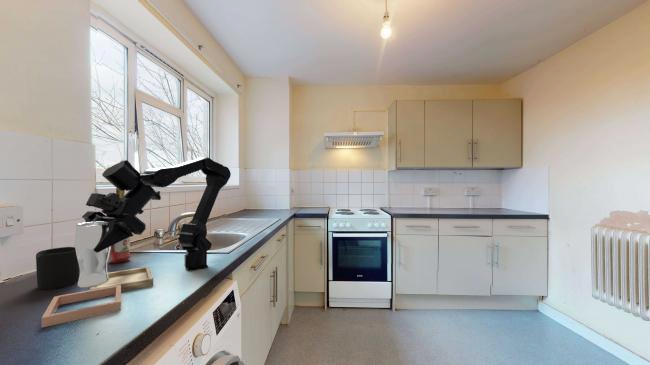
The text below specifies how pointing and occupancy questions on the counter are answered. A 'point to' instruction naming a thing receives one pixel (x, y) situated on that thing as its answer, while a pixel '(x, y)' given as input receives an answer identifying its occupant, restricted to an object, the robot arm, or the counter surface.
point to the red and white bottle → (120, 245)
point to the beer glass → (91, 254)
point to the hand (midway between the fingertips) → (87, 250)
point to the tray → (129, 279)
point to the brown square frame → (67, 316)
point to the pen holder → (57, 268)
